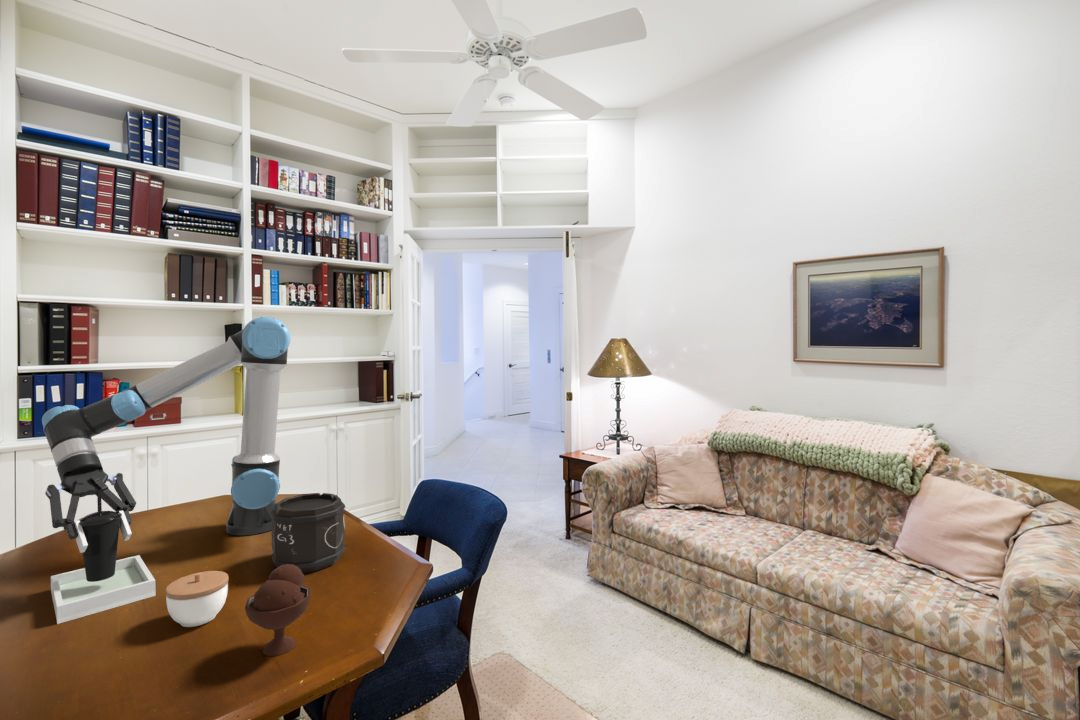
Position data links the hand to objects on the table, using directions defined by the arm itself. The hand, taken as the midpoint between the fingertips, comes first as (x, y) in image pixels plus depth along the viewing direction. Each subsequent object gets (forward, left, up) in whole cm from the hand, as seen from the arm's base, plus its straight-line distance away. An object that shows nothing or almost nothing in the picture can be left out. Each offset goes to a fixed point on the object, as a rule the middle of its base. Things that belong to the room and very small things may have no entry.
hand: (106, 542), depth 112 cm
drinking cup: (+3, -2, -9) cm, 9 cm away
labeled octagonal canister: (-39, -14, -13) cm, 43 cm away
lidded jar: (-25, +13, -13) cm, 30 cm away
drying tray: (+2, -2, -12) cm, 13 cm away
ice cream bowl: (-45, +26, -13) cm, 53 cm away
